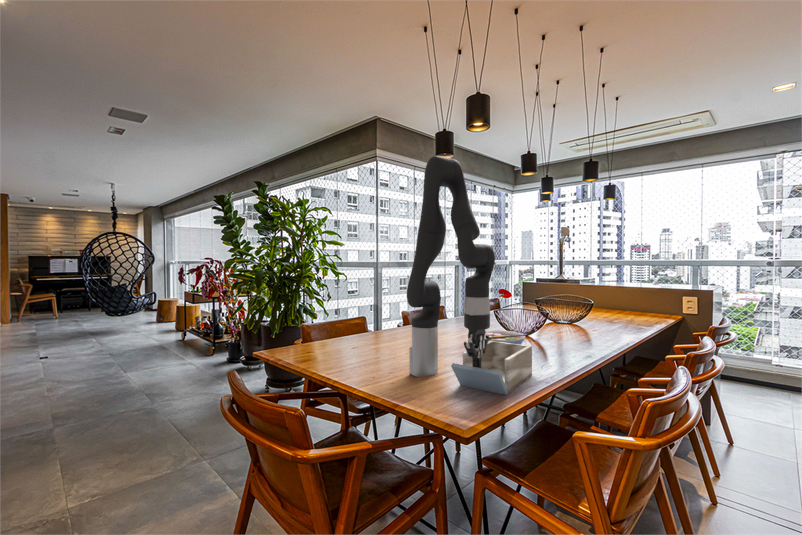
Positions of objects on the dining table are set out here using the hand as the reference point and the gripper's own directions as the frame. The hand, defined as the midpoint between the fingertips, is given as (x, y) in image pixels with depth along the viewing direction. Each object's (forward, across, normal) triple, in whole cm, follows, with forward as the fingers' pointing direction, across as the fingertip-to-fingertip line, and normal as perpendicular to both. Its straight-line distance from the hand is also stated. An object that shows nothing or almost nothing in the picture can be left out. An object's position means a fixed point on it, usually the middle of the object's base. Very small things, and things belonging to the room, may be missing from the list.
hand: (476, 369), depth 112 cm
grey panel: (+7, -4, 0) cm, 8 cm away
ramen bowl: (+9, -57, -16) cm, 60 cm away
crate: (+8, -16, 0) cm, 18 cm away
